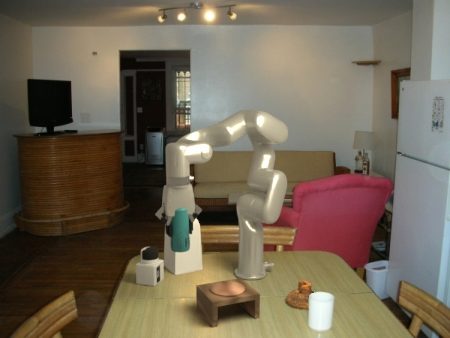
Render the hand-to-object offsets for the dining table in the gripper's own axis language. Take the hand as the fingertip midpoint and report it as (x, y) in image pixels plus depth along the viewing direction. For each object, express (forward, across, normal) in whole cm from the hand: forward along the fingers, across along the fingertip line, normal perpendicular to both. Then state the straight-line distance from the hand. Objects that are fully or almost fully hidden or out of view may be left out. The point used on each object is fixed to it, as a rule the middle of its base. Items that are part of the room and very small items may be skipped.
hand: (179, 234), depth 157 cm
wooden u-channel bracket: (+24, -11, +13) cm, 30 cm away
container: (+24, +5, -22) cm, 33 cm away
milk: (+25, -11, -31) cm, 41 cm away
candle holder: (+25, -38, +16) cm, 48 cm away
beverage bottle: (+7, 0, 0) cm, 7 cm away
